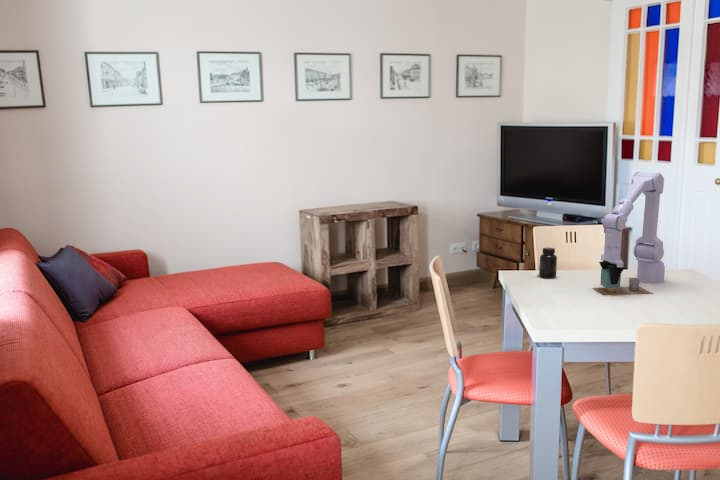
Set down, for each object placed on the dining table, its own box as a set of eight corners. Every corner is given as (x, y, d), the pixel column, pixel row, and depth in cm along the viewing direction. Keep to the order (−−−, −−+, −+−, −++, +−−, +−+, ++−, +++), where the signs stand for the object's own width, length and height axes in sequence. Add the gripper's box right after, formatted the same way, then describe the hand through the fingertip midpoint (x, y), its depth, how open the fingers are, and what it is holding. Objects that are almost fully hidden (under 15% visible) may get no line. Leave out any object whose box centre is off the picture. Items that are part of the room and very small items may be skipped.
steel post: (635, 289, 249) (636, 277, 248) (638, 291, 247) (639, 279, 246) (628, 289, 249) (629, 277, 248) (631, 291, 246) (632, 279, 246)
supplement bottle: (558, 278, 271) (559, 249, 269) (541, 278, 271) (542, 250, 269) (553, 274, 277) (554, 246, 275) (537, 275, 278) (538, 246, 275)
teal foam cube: (613, 284, 250) (614, 268, 249) (620, 287, 245) (621, 271, 243) (600, 284, 249) (601, 269, 248) (606, 288, 244) (607, 272, 243)
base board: (639, 288, 254) (639, 286, 254) (653, 295, 243) (654, 293, 243) (591, 289, 253) (591, 287, 252) (603, 297, 242) (603, 295, 242)
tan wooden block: (612, 290, 249) (612, 278, 248) (615, 291, 246) (615, 279, 245) (605, 290, 249) (605, 278, 248) (608, 292, 246) (609, 280, 245)
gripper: (594, 243, 251) (592, 278, 254) (610, 250, 237) (608, 287, 239) (612, 242, 252) (610, 277, 254) (629, 249, 237) (627, 286, 240)
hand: (610, 282), depth 247 cm, fingers closed on teal foam cube, 5 cm apart
